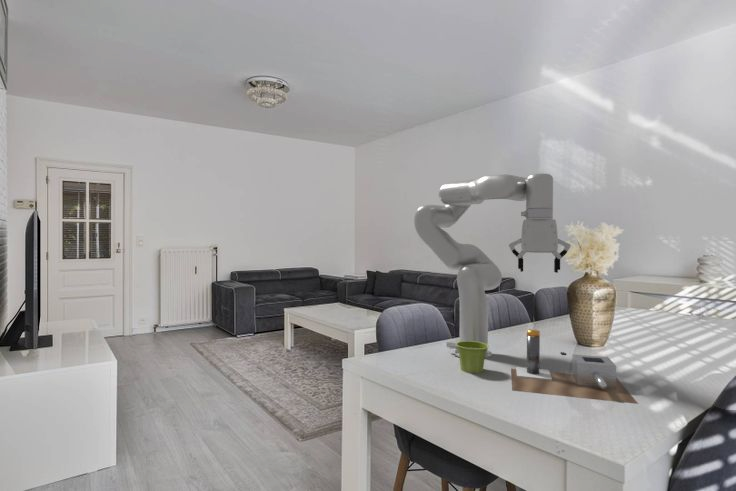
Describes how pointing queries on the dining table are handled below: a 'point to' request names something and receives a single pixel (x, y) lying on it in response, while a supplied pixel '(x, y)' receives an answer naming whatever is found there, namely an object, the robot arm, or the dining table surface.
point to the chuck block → (594, 371)
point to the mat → (542, 374)
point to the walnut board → (570, 388)
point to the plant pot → (472, 355)
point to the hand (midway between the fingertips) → (538, 271)
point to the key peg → (533, 351)
